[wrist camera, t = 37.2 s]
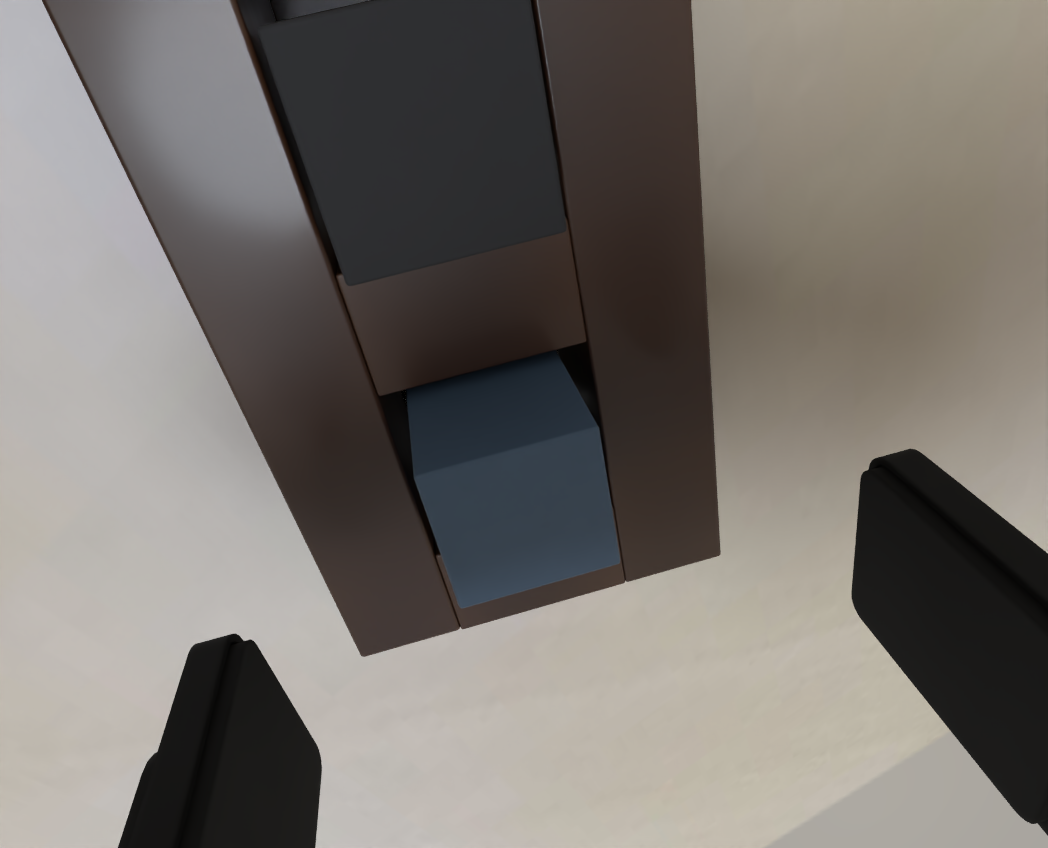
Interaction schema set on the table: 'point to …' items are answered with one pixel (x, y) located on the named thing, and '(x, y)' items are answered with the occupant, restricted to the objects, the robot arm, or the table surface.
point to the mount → (429, 289)
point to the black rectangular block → (420, 129)
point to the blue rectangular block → (511, 478)
